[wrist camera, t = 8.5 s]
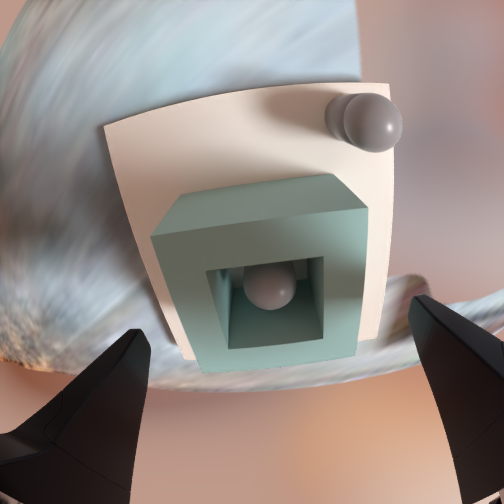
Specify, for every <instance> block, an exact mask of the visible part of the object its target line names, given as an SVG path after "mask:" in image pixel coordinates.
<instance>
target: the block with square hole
mask: <svg viewBox="0 0 504 504" xmlns="http://www.w3.org/2000/svg"><path fill="white" fill-rule="evenodd" d="M150 238H151V241H152V244H153V247H154V250H155V253H156V256H157V259H158V262H159V265H160V268H161V271H162V274H163V276H164V279H165V282H166V285H167V288H168V290H169V293H170V296H171V298H172V301H173V303H174V306H175V309H176V311H177V314H178V316H179V319H180V321H181V324H182V326H183V329H184V331H185V334H186V336H187V338H188V341H189V343H190V345H191V348H192V350H193V352H194V355H195V357H196V359H197V361H198V364H199V366H200V368H201V370H202V373H205V372H228V371H243V370H256V369H267V368H277V367H285V366H294V365H301V364H309V363H316V362H322V361H328V360H334V359H340V358H346V357H351V356H355V353H356V347H357V341H358V334H359V327H360V319H361V311H362V303H363V293H364V283H365V271H366V258H367V240H368V207H367V206H366V205H365V204H364V203H363V202H362V201H361V200H360V199H359V198H358V197H357V196H356V195H355V194H354V193H353V192H352V191H351V190H350V189H349V188H348V187H347V186H346V185H345V184H344V183H343V182H342V181H341V180H340V179H338V178H337V177H336V176H335V175H334V174H326V175H316V176H306V177H296V178H288V179H279V180H271V181H263V182H256V183H249V184H242V185H235V186H228V187H222V188H216V189H210V190H204V191H198V192H192V193H186V194H181V195H180V196H179V197H178V199H177V200H176V201H175V202H174V204H173V205H172V206H171V208H170V209H169V211H168V212H167V213H166V215H165V216H164V217H163V219H162V220H161V221H160V223H159V224H158V226H157V227H156V228H155V230H154V231H153V233H152V234H151V235H150ZM305 258H307V275H308V279H304V280H296V282H297V285H296V290H295V294H294V296H293V298H292V299H291V300H290V301H289V303H287V304H286V305H285V306H283V307H281V308H279V309H275V310H265V309H261V308H258V307H256V306H255V305H254V304H252V303H251V302H250V301H249V299H248V298H247V296H246V294H245V291H244V287H238V288H234V286H233V282H232V277H231V273H230V268H233V267H241V266H250V265H258V264H266V263H274V262H282V261H290V260H298V259H305Z"/></svg>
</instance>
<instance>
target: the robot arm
mask: <svg viewBox="0 0 504 504" xmlns="http://www.w3.org/2000/svg"><path fill="white" fill-rule="evenodd" d="M408 322H409V325H410V328H411V331H412V335H413V338H414V341H415V345H416V348H417V351H418V355H419V358H420V361H421V363H422V366H423V368H424V371H425V374H426V376H427V379H428V381H429V384H430V387H431V390H432V392H433V395H434V398H435V401H436V404H437V407H438V410H439V413H440V416H441V419H442V422H443V425H444V429H445V432H446V435H447V439H448V442H449V446H450V450H451V453H452V457H453V461H454V466H455V470H456V474H457V479H458V484H459V488H460V493H461V499H462V504H473V503H476V502H478V501H480V500H482V499H484V498H486V497H488V496H490V495H492V494H494V493H496V492H498V491H499V494H500V496H499V497H497V498H496V499H494V500H492V501H491V502H490V503H489V504H504V342H503V341H500V339H498V338H497V337H495V336H494V335H492V334H491V333H489V332H487V331H486V330H484V329H483V328H481V327H479V326H478V325H476V324H474V323H473V322H471V321H469V320H468V319H466V318H465V317H463V316H461V315H460V314H458V313H456V312H455V311H453V310H451V309H449V308H448V307H446V306H444V305H443V304H441V303H439V302H437V301H436V300H434V299H432V298H431V297H429V296H427V295H425V294H419V295H415V296H413V297H412V299H411V303H410V308H409V312H408ZM150 356H151V347H150V344H149V342H148V340H147V338H146V337H145V335H144V333H143V331H142V330H141V329H129V330H128V331H127V332H126V333H125V334H123V335H122V336H121V337H120V338H119V339H118V340H117V341H116V342H114V343H113V344H112V345H111V346H110V347H109V348H108V349H107V350H106V351H104V352H103V353H102V354H101V355H100V356H99V357H98V358H97V359H96V360H94V361H93V362H92V363H91V364H90V365H89V366H88V367H87V368H86V369H85V370H83V371H82V372H81V373H80V374H79V375H78V376H77V377H76V378H75V379H74V380H73V381H71V382H70V383H69V384H68V385H67V386H66V387H65V388H64V389H63V390H62V391H60V392H59V393H58V394H57V395H56V396H55V397H54V398H53V399H52V400H51V401H50V402H48V403H47V404H46V405H45V406H44V407H42V408H41V409H40V410H39V411H38V412H36V413H35V414H34V415H33V416H31V417H30V418H29V419H27V420H26V421H25V422H24V423H22V424H21V425H20V426H19V427H17V428H16V429H14V430H13V431H11V432H8V433H4V434H0V504H129V503H130V491H131V484H132V476H133V468H134V461H135V455H136V448H137V442H138V435H139V430H140V424H141V419H142V413H143V408H144V403H145V398H146V392H147V386H148V376H149V366H150Z"/></svg>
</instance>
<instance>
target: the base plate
mask: <svg viewBox="0 0 504 504" xmlns="http://www.w3.org/2000/svg"><path fill="white" fill-rule="evenodd" d="M402 125H403V124H402V118H401V115H400V112H399V110H398V109H397V107H396V106H395V105H394V104H393V103H392V102H391V100H390V90H389V84H382V83H312V84H296V85H284V86H274V87H265V88H257V89H250V90H243V91H237V92H230V93H225V94H219V95H214V96H209V97H204V98H199V99H195V100H190V101H186V102H182V103H178V104H174V105H170V106H166V107H162V108H158V109H155V110H151V111H148V112H145V113H141V114H138V115H135V116H132V117H129V118H126V119H123V120H120V121H117V122H114V123H111V124H108V125H105V126H104V131H105V135H106V140H107V144H108V148H109V152H110V156H111V160H112V164H113V168H114V172H115V176H116V179H117V183H118V186H119V190H120V193H121V197H122V200H123V204H124V207H125V210H126V213H127V216H128V220H129V223H130V226H131V229H132V232H133V235H134V238H135V241H136V244H137V246H138V249H139V252H140V255H141V258H142V260H143V263H144V266H145V268H146V271H147V274H148V276H149V279H150V282H151V284H152V287H153V289H154V292H155V294H156V297H157V299H158V301H159V304H160V306H161V309H162V311H163V313H164V316H165V318H166V320H167V323H168V325H169V327H170V329H171V332H172V334H173V336H174V338H175V340H176V342H177V345H178V347H179V349H180V351H181V353H182V355H183V357H184V359H185V360H197V359H196V357H195V355H194V352H193V350H192V348H191V345H190V343H189V341H188V338H187V336H186V334H185V331H184V329H183V326H182V324H181V321H180V319H179V316H178V314H177V311H176V309H175V306H174V303H173V301H172V298H171V296H170V293H169V290H168V288H167V285H166V282H165V279H164V276H163V274H162V271H161V268H160V265H159V262H158V259H157V256H156V253H155V250H154V247H153V244H152V241H151V238H150V235H151V234H152V233H153V231H154V230H155V228H156V227H157V226H158V224H159V223H160V221H161V220H162V219H163V217H164V216H165V215H166V213H167V212H168V211H169V209H170V208H171V206H172V205H173V204H174V202H175V201H176V200H177V199H178V197H179V196H180V195H181V194H186V193H192V192H198V191H204V190H210V189H216V188H222V187H228V186H235V185H242V184H249V183H256V182H263V181H271V180H279V179H288V178H296V177H306V176H316V175H326V174H334V175H335V176H336V177H337V178H338V179H340V180H341V181H342V182H343V183H344V184H345V185H346V186H347V187H348V188H349V189H350V190H351V191H352V192H353V193H354V194H355V195H356V196H357V197H358V198H359V199H360V200H361V201H362V202H363V203H364V204H365V205H366V206H367V207H368V240H367V258H366V271H365V283H364V293H363V303H362V311H361V319H360V327H359V334H358V341H363V340H368V339H372V338H377V334H378V329H379V323H380V318H381V312H382V306H383V300H384V294H385V287H386V280H387V272H388V264H389V253H390V244H391V231H392V216H393V194H394V149H393V146H394V145H395V144H396V143H397V142H398V140H399V139H400V136H401V133H402ZM230 273H231V277H232V282H233V286H234V288H238V287H244V291H245V294H246V296H247V298H248V299H249V301H250V302H251V303H252V304H254V305H255V306H256V307H258V308H261V309H265V310H275V309H279V308H281V307H283V306H285V305H286V304H287V303H289V301H290V300H291V299H292V298H293V296H294V294H295V290H296V285H297V282H296V280H304V279H308V275H307V258H305V259H298V260H290V261H282V262H274V263H266V264H258V265H250V266H241V267H233V268H230Z"/></svg>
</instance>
